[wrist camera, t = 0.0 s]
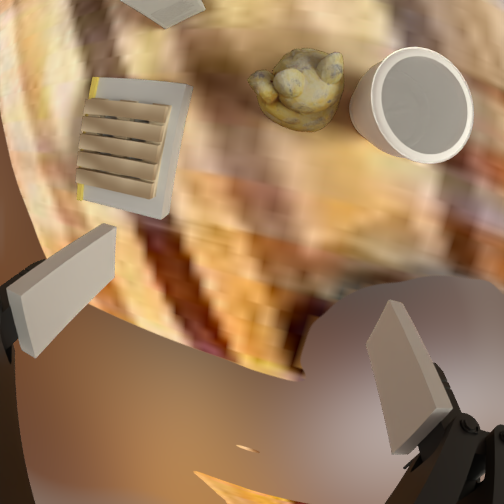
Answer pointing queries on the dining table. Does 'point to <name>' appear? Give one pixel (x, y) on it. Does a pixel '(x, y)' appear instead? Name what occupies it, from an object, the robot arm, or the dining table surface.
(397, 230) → the dining table surface
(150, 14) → the small box
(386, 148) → the jar
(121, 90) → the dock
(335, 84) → the decorative figurine
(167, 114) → the pallet
